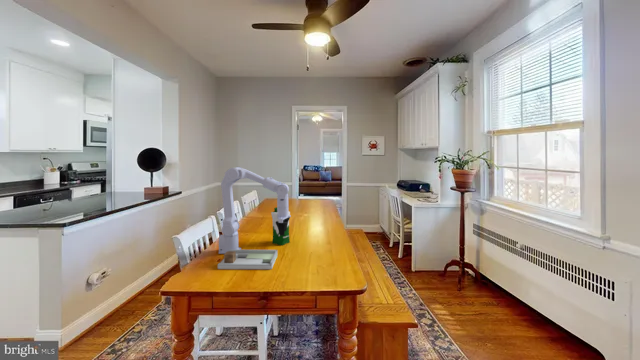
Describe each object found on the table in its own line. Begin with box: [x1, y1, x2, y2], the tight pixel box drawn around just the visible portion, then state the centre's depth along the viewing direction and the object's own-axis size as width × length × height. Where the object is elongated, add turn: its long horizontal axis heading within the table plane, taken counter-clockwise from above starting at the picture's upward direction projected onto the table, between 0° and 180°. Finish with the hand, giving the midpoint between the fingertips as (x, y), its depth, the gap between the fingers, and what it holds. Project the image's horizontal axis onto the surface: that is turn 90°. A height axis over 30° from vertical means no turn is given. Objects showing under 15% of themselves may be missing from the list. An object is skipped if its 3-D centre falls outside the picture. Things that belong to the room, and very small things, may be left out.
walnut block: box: [223, 251, 236, 263], centre depth 128 cm, size 4×4×4 cm
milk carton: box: [270, 207, 291, 246], centre depth 159 cm, size 9×9×20 cm
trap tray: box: [217, 249, 278, 270], centre depth 132 cm, size 24×16×3 cm, turn 90°
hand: (283, 233), depth 144 cm, fingers open, 7 cm apart
